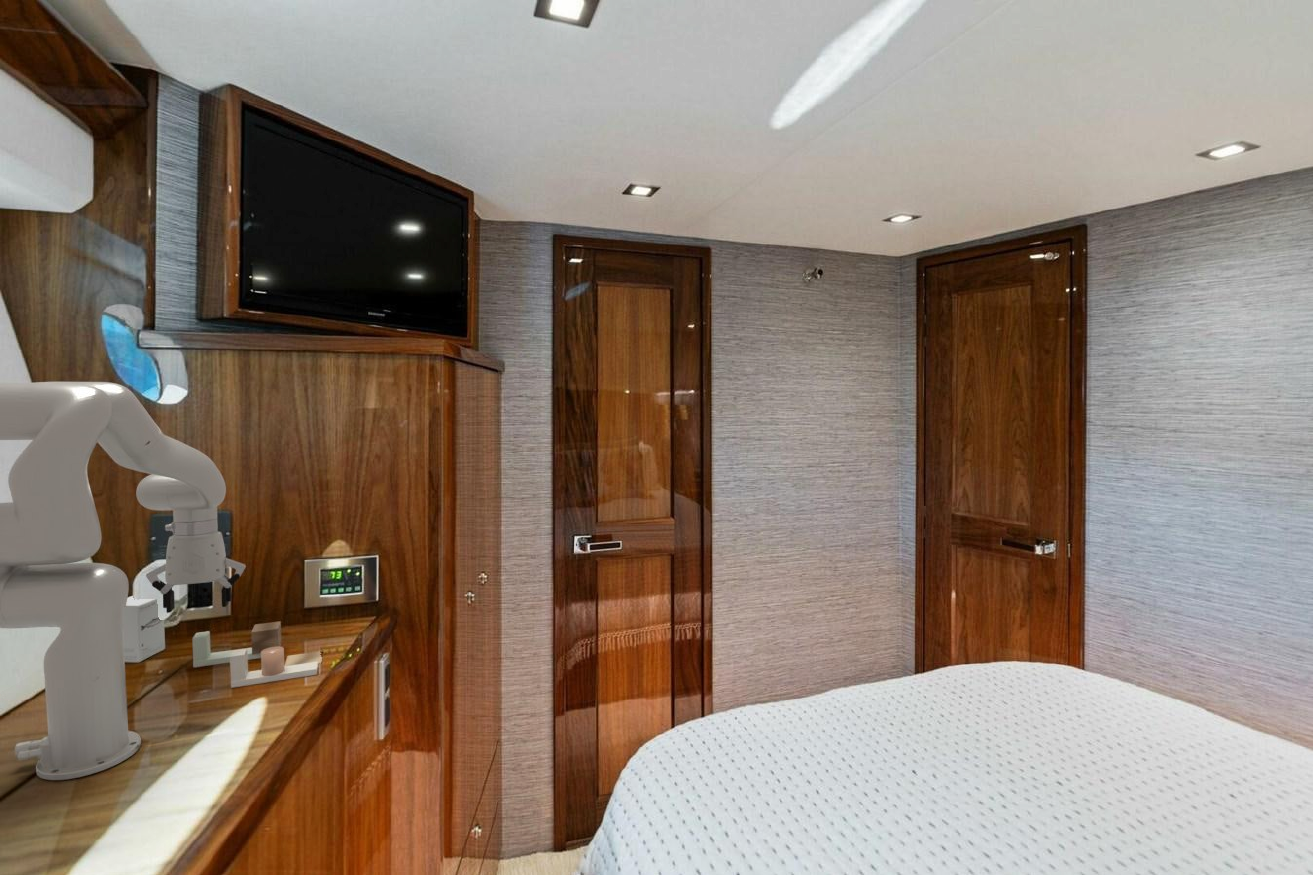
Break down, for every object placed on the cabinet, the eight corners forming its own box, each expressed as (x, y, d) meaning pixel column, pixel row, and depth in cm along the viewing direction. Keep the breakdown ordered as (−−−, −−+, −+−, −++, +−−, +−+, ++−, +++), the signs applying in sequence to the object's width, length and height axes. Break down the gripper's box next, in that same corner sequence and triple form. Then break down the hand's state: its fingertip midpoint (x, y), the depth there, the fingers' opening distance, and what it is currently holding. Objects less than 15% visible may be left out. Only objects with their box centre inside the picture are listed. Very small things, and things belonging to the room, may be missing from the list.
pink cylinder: (260, 677, 128) (259, 655, 128) (263, 669, 132) (262, 648, 131) (283, 673, 130) (282, 652, 129) (285, 666, 133) (284, 645, 133)
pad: (283, 669, 135) (283, 668, 135) (287, 657, 141) (287, 655, 141) (321, 664, 137) (321, 662, 137) (323, 651, 144) (323, 650, 144)
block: (252, 654, 139) (251, 632, 139) (255, 646, 144) (254, 624, 143) (278, 650, 141) (277, 628, 141) (281, 642, 146) (280, 621, 145)
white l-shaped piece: (193, 667, 135) (192, 638, 135) (197, 660, 139) (196, 632, 138) (275, 655, 141) (274, 628, 141) (277, 649, 145) (276, 622, 144)
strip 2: (230, 687, 126) (229, 657, 126) (234, 679, 130) (233, 649, 129) (316, 674, 132) (316, 645, 132) (318, 666, 136) (317, 638, 135)
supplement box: (140, 663, 138) (137, 605, 137) (106, 662, 138) (103, 605, 138) (166, 649, 146) (164, 594, 145) (134, 648, 146) (132, 594, 145)
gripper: (139, 534, 128) (142, 618, 129) (241, 528, 135) (243, 607, 136) (150, 528, 135) (153, 608, 136) (247, 522, 142) (249, 598, 143)
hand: (198, 607), depth 136 cm, fingers open, 9 cm apart
